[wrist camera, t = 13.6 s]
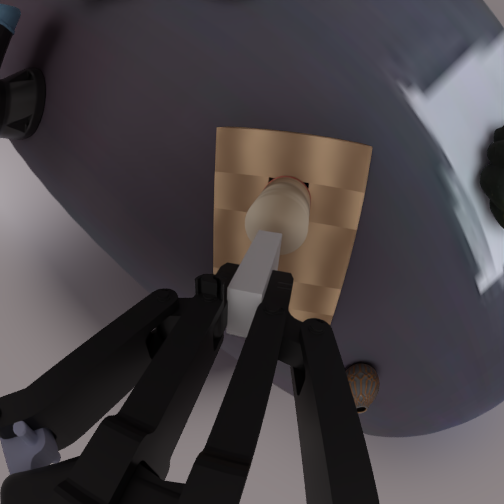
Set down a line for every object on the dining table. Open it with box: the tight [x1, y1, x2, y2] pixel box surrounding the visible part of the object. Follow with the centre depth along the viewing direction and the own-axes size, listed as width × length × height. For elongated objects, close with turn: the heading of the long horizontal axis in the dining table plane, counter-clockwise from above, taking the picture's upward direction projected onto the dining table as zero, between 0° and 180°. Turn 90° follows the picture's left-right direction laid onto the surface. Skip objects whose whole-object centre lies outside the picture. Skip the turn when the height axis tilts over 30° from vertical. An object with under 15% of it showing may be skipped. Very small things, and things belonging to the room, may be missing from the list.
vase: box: [346, 363, 379, 413], centre depth 39 cm, size 7×7×9 cm
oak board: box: [213, 127, 372, 325], centre depth 33 cm, size 16×26×4 cm, turn 176°
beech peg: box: [245, 176, 311, 255], centre depth 26 cm, size 5×5×12 cm
